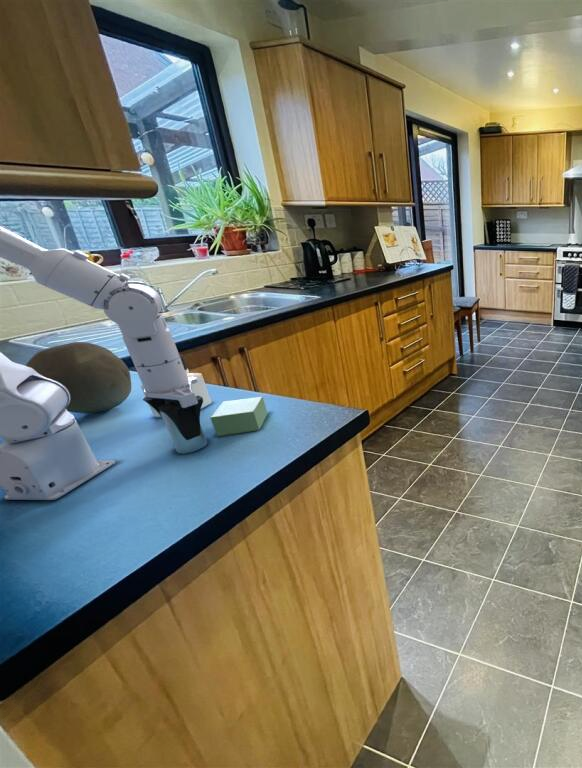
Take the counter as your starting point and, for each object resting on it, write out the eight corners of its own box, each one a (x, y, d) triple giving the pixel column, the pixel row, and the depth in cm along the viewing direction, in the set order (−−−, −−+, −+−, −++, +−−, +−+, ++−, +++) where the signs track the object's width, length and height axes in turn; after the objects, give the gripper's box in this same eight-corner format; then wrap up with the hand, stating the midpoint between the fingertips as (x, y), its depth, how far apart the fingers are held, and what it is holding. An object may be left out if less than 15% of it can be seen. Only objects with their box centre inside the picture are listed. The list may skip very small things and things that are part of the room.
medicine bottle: (213, 403, 87) (194, 350, 82) (185, 418, 81) (163, 363, 76) (183, 402, 88) (162, 350, 83) (153, 417, 81) (129, 362, 76)
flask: (194, 453, 69) (174, 404, 65) (170, 453, 69) (148, 404, 65) (213, 440, 73) (195, 392, 69) (189, 439, 73) (170, 393, 69)
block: (259, 430, 76) (253, 411, 74) (217, 436, 74) (210, 417, 72) (267, 413, 82) (262, 396, 80) (228, 419, 80) (222, 401, 78)
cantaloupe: (107, 395, 92) (77, 332, 85) (158, 399, 89) (131, 334, 83) (29, 426, 79) (-13, 354, 73) (87, 431, 77) (48, 358, 70)
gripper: (206, 360, 64) (232, 434, 69) (168, 346, 71) (194, 414, 76) (152, 375, 58) (184, 453, 64) (116, 358, 65) (148, 430, 71)
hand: (186, 433), depth 70 cm, fingers closed on flask, 4 cm apart
